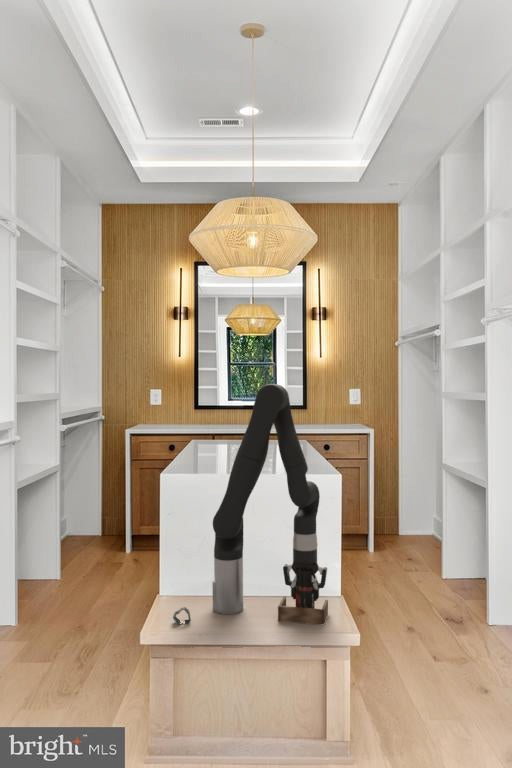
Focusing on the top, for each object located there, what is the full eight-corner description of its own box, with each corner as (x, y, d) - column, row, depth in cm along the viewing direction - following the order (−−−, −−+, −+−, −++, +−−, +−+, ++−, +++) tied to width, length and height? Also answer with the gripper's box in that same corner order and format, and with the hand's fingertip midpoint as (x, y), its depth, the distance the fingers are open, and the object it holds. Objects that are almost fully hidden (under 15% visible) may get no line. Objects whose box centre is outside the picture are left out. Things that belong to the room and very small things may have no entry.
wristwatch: (182, 625, 204) (171, 615, 203) (194, 614, 204) (183, 603, 203) (182, 630, 201) (170, 620, 200) (194, 619, 201) (183, 608, 200)
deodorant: (313, 619, 203) (313, 571, 203) (294, 618, 205) (294, 570, 204) (315, 612, 209) (315, 565, 208) (297, 610, 210) (296, 564, 210)
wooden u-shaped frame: (278, 620, 203) (278, 606, 203) (283, 610, 212) (283, 596, 211) (324, 625, 200) (323, 610, 199) (327, 613, 208) (327, 599, 208)
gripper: (280, 548, 204) (280, 601, 205) (326, 551, 200) (326, 605, 201) (284, 541, 211) (285, 593, 212) (329, 544, 208) (329, 597, 208)
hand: (305, 599), depth 207 cm, fingers closed on deodorant, 6 cm apart
